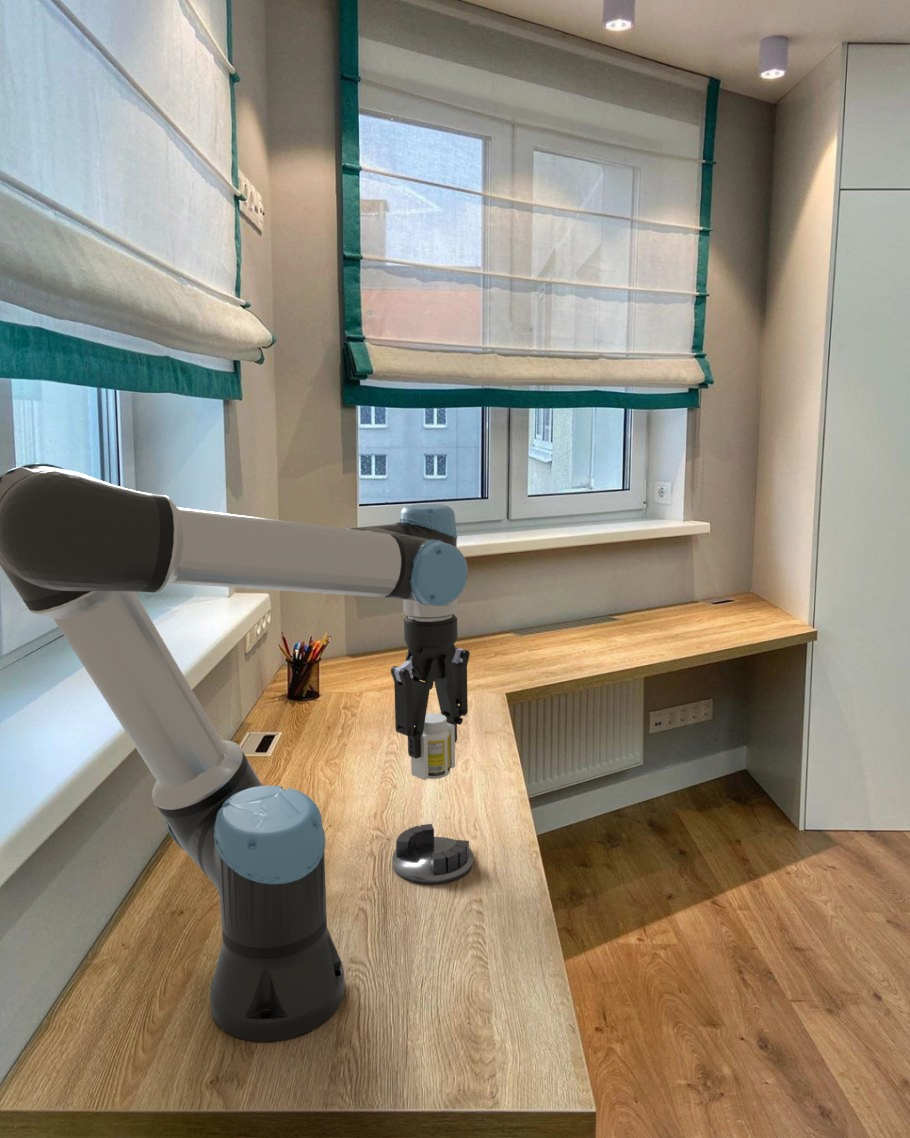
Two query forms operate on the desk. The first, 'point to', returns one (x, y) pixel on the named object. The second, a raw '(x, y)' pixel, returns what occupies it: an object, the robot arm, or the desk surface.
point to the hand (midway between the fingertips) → (433, 770)
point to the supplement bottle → (437, 745)
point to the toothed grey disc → (430, 857)
